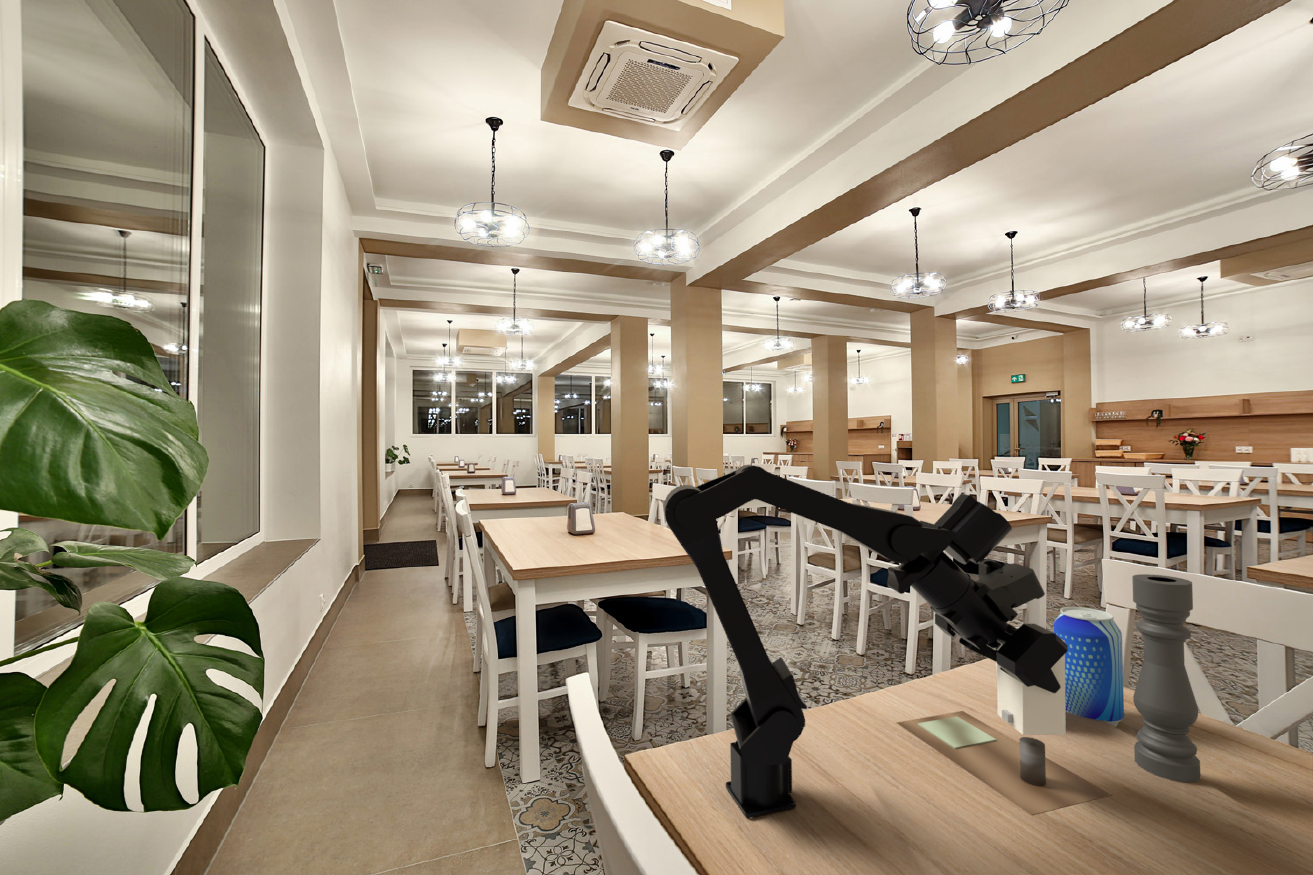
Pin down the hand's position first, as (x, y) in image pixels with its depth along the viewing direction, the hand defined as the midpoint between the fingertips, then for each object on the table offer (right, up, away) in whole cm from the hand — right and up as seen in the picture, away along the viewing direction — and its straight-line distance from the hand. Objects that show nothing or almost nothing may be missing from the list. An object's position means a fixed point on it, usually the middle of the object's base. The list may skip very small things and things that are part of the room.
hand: (1041, 680), depth 70 cm
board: (-3, -14, +6) cm, 15 cm away
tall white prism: (-1, -5, 0) cm, 6 cm away
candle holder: (+17, -13, +2) cm, 22 cm away
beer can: (+20, -14, +18) cm, 30 cm away
